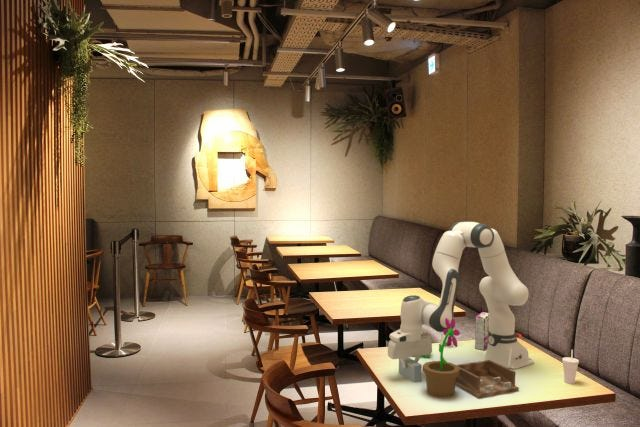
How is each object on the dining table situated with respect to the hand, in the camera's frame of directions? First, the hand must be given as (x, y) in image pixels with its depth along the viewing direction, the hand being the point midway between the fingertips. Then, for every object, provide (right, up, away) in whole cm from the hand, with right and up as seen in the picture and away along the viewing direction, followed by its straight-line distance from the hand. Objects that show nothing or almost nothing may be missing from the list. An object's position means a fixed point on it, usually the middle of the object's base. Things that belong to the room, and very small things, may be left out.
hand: (409, 366), depth 234 cm
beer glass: (+26, -2, +44) cm, 51 cm away
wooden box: (+29, -6, -10) cm, 31 cm away
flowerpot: (+9, -6, -16) cm, 20 cm away
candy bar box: (+43, -2, +43) cm, 61 cm away
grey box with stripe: (0, -4, 0) cm, 4 cm away
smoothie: (+66, -6, -3) cm, 66 cm away
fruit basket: (+9, -3, +29) cm, 31 cm away
